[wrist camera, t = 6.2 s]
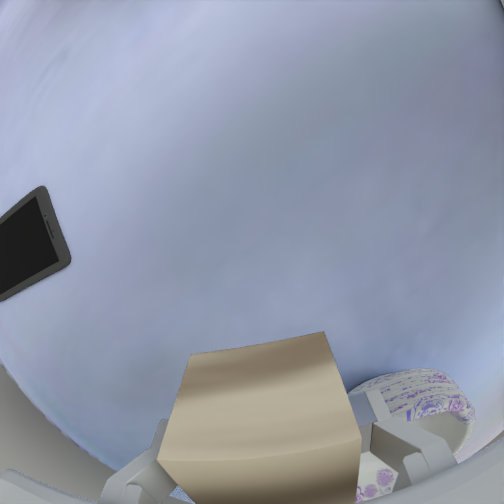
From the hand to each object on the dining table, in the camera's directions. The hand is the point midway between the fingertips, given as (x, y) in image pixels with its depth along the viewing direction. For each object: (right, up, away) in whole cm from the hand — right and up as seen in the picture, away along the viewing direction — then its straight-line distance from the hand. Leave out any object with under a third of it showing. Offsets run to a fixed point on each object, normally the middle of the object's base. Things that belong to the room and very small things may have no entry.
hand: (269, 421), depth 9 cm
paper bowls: (+12, -9, +15) cm, 21 cm away
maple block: (0, 0, +2) cm, 2 cm away
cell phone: (-23, +6, +12) cm, 27 cm away
